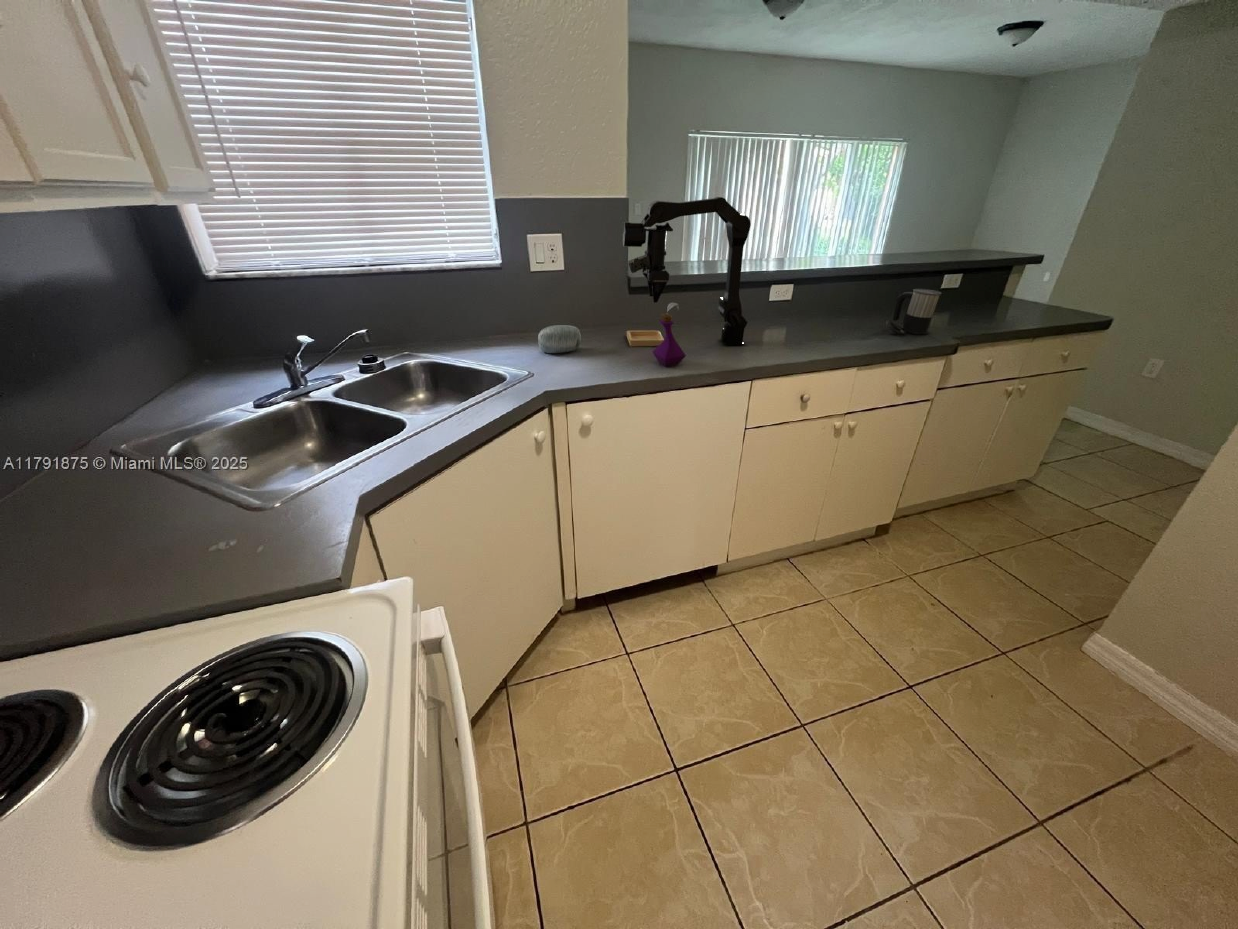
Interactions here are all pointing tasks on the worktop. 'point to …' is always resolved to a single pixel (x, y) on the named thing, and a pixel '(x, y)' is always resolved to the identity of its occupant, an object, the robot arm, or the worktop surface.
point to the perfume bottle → (668, 343)
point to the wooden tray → (644, 338)
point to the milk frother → (915, 311)
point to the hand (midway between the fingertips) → (653, 299)
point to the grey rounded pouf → (559, 339)
